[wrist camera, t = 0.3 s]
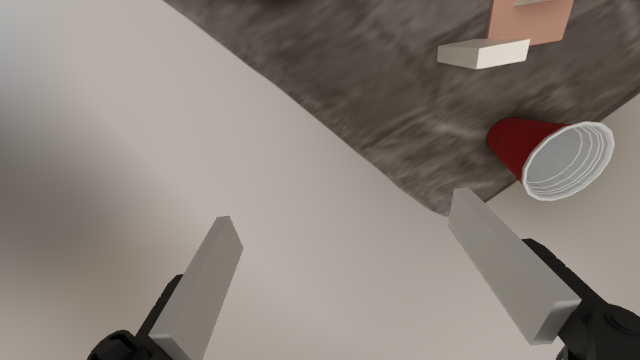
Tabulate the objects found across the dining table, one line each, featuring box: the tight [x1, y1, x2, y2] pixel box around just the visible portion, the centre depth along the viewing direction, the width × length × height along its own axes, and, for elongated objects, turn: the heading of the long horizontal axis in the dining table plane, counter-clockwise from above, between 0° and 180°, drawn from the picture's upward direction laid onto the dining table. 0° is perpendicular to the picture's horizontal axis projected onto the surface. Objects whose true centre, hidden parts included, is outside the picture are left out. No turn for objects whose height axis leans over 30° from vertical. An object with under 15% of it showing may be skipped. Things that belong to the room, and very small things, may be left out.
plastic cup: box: [487, 118, 615, 201], centre depth 35 cm, size 11×11×12 cm
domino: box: [437, 39, 530, 69], centre depth 29 cm, size 2×5×10 cm, turn 100°
